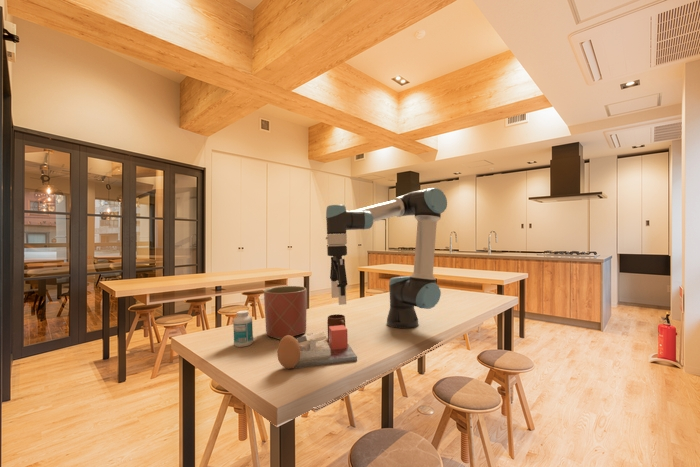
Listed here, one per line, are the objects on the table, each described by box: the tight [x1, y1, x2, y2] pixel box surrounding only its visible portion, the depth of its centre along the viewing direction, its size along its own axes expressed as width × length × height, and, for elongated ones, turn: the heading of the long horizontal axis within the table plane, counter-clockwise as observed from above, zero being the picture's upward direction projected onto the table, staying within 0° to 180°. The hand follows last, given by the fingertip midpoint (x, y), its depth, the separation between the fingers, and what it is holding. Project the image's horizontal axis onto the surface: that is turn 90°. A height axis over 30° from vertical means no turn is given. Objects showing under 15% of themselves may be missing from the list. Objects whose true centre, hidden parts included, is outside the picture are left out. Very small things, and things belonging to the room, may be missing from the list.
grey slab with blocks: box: [292, 333, 358, 369], centre depth 116 cm, size 22×16×8 cm
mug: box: [327, 313, 347, 340], centre depth 133 cm, size 12×8×9 cm, turn 26°
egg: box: [276, 335, 301, 369], centre depth 105 cm, size 8×8×11 cm
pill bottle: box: [232, 309, 254, 348], centre depth 130 cm, size 8×7×14 cm
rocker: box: [296, 331, 328, 346], centre depth 113 cm, size 10×6×1 cm, turn 104°
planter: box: [263, 285, 308, 341], centre depth 144 cm, size 19×19×20 cm
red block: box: [328, 325, 349, 350], centre depth 121 cm, size 6×6×7 cm
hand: (338, 300), depth 122 cm, fingers open, 13 cm apart
